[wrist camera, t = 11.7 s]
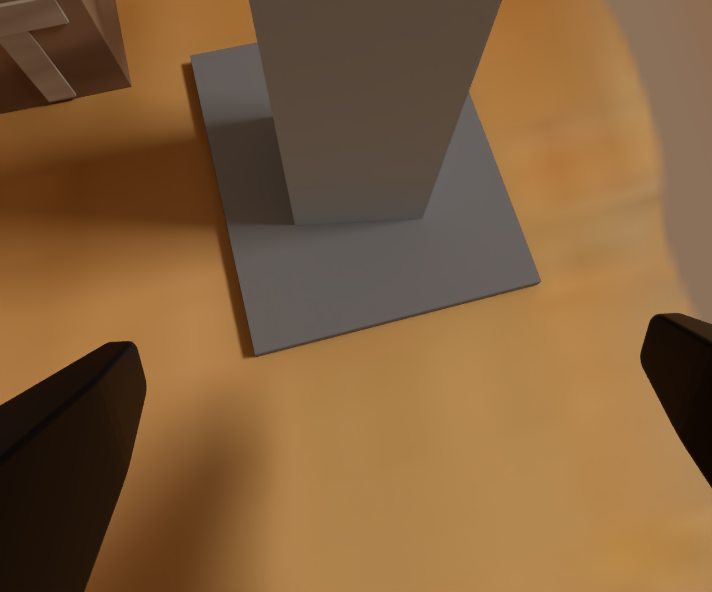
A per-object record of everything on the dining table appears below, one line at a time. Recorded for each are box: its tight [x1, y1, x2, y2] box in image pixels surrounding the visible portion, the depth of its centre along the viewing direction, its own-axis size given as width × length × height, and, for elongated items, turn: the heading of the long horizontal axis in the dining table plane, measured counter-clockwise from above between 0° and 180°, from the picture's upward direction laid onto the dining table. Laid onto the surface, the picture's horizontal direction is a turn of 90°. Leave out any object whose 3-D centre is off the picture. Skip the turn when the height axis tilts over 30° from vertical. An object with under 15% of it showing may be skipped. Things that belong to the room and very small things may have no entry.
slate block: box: [249, 0, 502, 225], centre depth 13 cm, size 4×4×12 cm
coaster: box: [190, 43, 541, 357], centre depth 19 cm, size 12×10×1 cm
